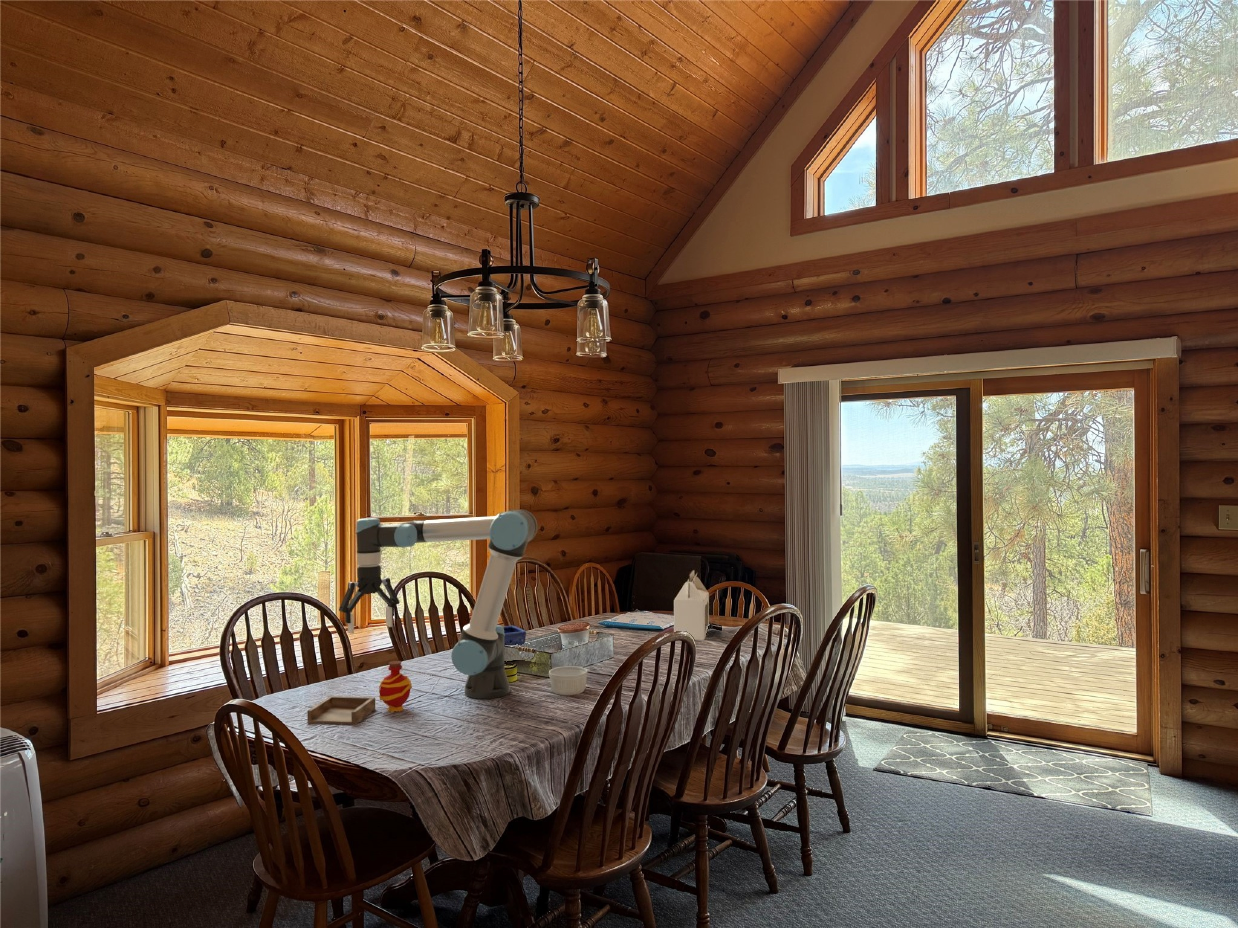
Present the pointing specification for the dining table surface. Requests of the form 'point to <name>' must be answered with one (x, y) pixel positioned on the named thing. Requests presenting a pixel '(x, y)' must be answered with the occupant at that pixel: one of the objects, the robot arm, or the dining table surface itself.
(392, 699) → the potion bottle
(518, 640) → the flower pot
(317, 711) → the u rest
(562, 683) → the ramekin
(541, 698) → the dining table surface
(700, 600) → the gable box
